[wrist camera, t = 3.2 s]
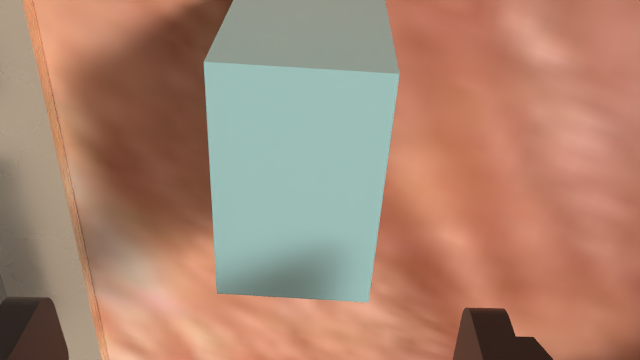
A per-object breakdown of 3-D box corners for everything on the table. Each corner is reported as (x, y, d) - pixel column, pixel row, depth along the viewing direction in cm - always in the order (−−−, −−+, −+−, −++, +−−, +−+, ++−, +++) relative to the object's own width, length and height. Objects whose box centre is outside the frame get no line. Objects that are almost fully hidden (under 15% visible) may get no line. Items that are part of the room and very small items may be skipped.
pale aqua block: (245, -25, 18) (203, 61, 12) (381, -17, 18) (399, 73, 12) (248, 162, 21) (217, 293, 16) (361, 169, 21) (368, 302, 16)
